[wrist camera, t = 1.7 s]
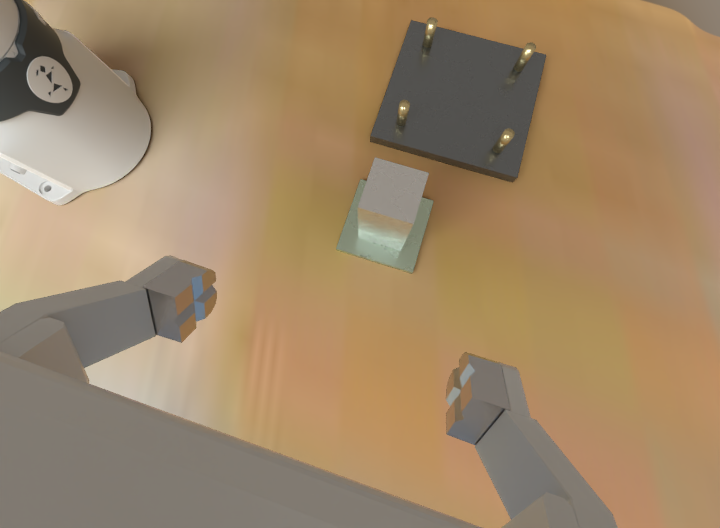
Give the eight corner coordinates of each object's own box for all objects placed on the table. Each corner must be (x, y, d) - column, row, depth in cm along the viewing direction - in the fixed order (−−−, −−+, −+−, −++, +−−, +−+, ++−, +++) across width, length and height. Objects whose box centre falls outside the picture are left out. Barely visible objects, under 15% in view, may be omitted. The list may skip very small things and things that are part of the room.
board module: (336, 250, 36) (328, 221, 27) (360, 182, 38) (360, 132, 29) (411, 274, 36) (430, 252, 26) (432, 203, 38) (456, 159, 28)
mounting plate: (370, 141, 39) (371, 119, 35) (410, 28, 43) (415, -4, 39) (512, 182, 38) (530, 164, 34) (541, 62, 42) (560, 33, 38)
